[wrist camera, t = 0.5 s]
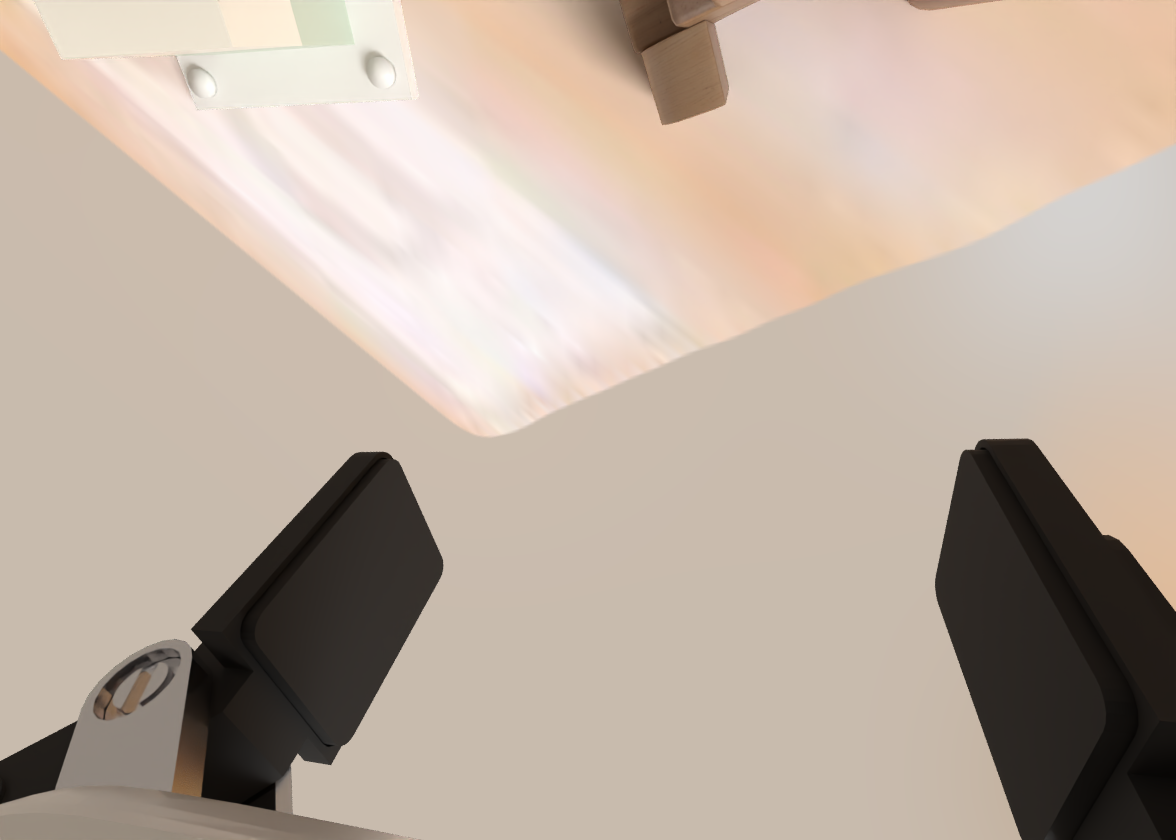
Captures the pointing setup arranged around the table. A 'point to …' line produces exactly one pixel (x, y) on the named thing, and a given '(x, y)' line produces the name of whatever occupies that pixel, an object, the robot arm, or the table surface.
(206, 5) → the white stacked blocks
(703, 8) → the wooden toy
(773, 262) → the table surface
